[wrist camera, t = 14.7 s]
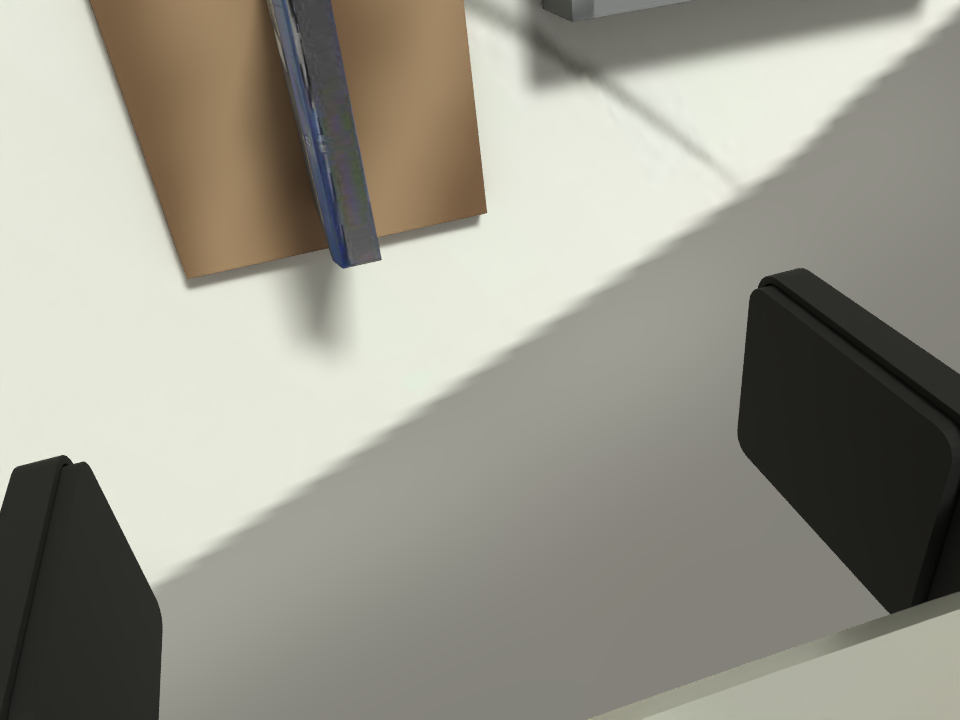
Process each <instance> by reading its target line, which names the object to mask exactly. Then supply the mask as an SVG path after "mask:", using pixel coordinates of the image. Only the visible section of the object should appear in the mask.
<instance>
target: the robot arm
mask: <svg viewBox="0 0 960 720" xmlns="http://www.w3.org/2000/svg"><path fill="white" fill-rule="evenodd" d="M737 431H738V440H739V443H740V446H741V448H742V450H743V452H744V453H745V455H746V456H747V457H748V458H749V459H750V460H751V462H752V463H753V464H754V465H755V466H756V467H757V468H758V469H759V470H760V472H761V473H762V474H763V475H764V476H765V477H766V478H767V479H768V480H769V481H770V482H771V484H772V485H773V486H774V487H775V488H776V489H777V490H778V491H779V492H780V493H781V495H782V496H783V497H784V498H785V499H786V500H787V501H788V502H789V504H790V505H791V506H792V507H793V508H794V509H795V510H796V511H797V512H798V513H799V515H800V516H801V517H802V518H803V519H804V520H805V521H806V522H807V523H808V524H809V526H810V527H811V528H812V529H813V530H814V531H815V532H816V533H817V534H818V535H819V537H820V538H821V539H822V540H823V541H824V542H825V543H826V544H827V545H828V546H829V547H830V549H831V550H832V551H833V552H834V553H835V554H836V555H837V556H838V557H839V558H840V560H841V561H842V562H843V563H844V564H845V565H846V566H847V567H848V568H849V570H851V572H852V573H853V574H854V575H855V576H856V577H857V578H858V580H859V581H860V582H862V584H863V585H864V586H865V587H866V588H867V589H868V591H870V593H871V594H872V595H873V596H874V597H875V598H876V599H877V600H878V602H879V603H880V604H881V605H882V606H883V607H884V608H885V609H886V610H887V611H888V612H889V613H890V615H888V616H885V617H882V618H879V619H876V620H873V621H870V622H867V623H864V624H861V625H858V626H855V627H852V628H850V629H847V630H844V631H841V632H838V633H835V634H832V635H829V636H826V637H823V638H820V639H817V640H815V641H812V642H809V643H806V644H803V645H800V646H797V647H794V648H791V649H788V650H785V651H782V652H780V653H777V654H774V655H771V656H768V657H765V658H762V659H759V660H756V661H753V662H750V663H748V664H745V665H742V666H739V667H736V668H733V669H730V670H727V671H725V672H722V673H719V674H716V675H713V676H710V677H707V678H704V679H702V680H699V681H696V682H693V683H690V684H687V685H684V686H681V687H679V688H676V689H673V690H670V691H667V692H664V693H661V694H659V695H656V696H653V697H650V698H647V699H644V700H641V701H638V702H636V703H633V704H630V705H627V706H624V707H621V708H619V709H616V710H613V711H610V712H607V713H604V714H601V715H598V716H596V717H593V718H590V719H587V720H960V374H959V373H957V372H955V371H954V370H952V369H951V368H950V367H948V366H947V365H945V364H944V363H943V362H941V361H940V360H938V359H937V358H935V357H934V356H932V355H931V354H929V353H928V352H927V351H925V350H924V349H922V348H920V347H919V346H918V345H916V344H915V343H913V342H912V341H911V340H909V339H908V338H906V337H905V336H903V335H902V334H900V333H899V332H897V331H896V330H894V329H893V328H892V327H890V326H889V325H887V324H886V323H884V322H883V321H881V320H880V319H878V318H877V317H876V316H874V315H873V314H871V313H870V312H868V311H867V310H865V309H864V308H862V307H861V306H860V305H858V304H857V303H855V302H854V301H852V300H851V299H849V298H848V297H846V296H845V295H843V294H842V293H841V292H839V291H837V290H836V289H835V288H833V287H832V286H830V285H829V284H827V283H826V282H824V281H823V280H821V279H820V278H819V277H817V276H816V275H814V274H813V273H811V272H810V271H808V270H806V269H804V268H798V269H794V270H790V271H786V272H782V273H778V274H774V275H770V276H766V277H764V278H763V279H762V280H761V282H760V283H759V286H758V289H755V290H754V291H753V292H752V294H751V295H750V300H749V310H748V321H747V332H746V343H745V354H744V365H743V375H742V386H741V398H740V408H739V419H738V430H737ZM161 651H162V617H161V613H160V608H159V605H158V602H157V600H156V598H155V596H154V594H153V592H152V590H151V588H150V586H149V584H148V582H147V580H146V578H145V576H144V574H143V572H142V570H141V568H140V566H139V564H138V562H137V560H136V558H135V556H134V554H133V552H132V550H131V548H130V546H129V544H128V542H127V540H126V538H125V536H124V534H123V532H122V530H121V528H120V526H119V524H118V522H117V520H116V518H115V516H114V514H113V512H112V510H111V508H110V506H109V504H108V502H107V500H106V498H105V496H104V494H103V492H102V490H101V488H100V486H99V484H98V482H97V480H96V477H95V475H94V473H93V471H92V470H91V468H90V466H89V465H88V464H87V463H86V462H80V463H76V464H73V463H72V461H71V460H70V459H69V458H68V457H67V456H65V455H61V456H57V457H53V458H49V459H45V460H41V461H37V462H33V463H30V464H26V465H22V466H18V467H16V468H15V469H14V470H13V472H12V474H11V477H10V481H9V484H8V487H7V491H6V494H5V497H4V501H3V504H2V508H1V511H0V720H158V719H159V697H160V673H161Z"/></svg>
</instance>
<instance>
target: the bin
mask: <svg viewBox="0 0 960 720" xmlns="http://www.w3.org/2000/svg"><path fill="white" fill-rule="evenodd" d="M686 1H692V0H542V3H543V9H545V10H547V11H550V12H552V13H554V14H556V15H558V16H561V17H563V18H565V19H567V20H569V21H572V22H575V21H581V20H586V19H592V18H598V17H603V16H609V15H614V14H620V13H625V12H631V11H636V10H642V9H648V8H653V7H659V6H664V5H670V4H675V3H681V2H686Z"/></svg>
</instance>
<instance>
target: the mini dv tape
mask: <svg viewBox="0 0 960 720" xmlns="http://www.w3.org/2000/svg"><path fill="white" fill-rule="evenodd" d="M266 1H267V5H268V9H269V13H270V18H271V22H272V26H273V30H274V34H275V39H276V43H277V47H278V51H279V55H280V60H281V64H282V68H283V72H284V77H285V81H286V85H287V89H288V93H289V98H290V102H291V106H292V110H293V114H294V119H295V123H296V127H297V131H298V135H299V140H300V144H301V148H302V152H303V157H304V161H305V165H306V169H307V173H308V178H309V182H310V186H311V190H312V194H313V199H314V203H315V207H316V210H317V213H318V216H319V219H320V222H321V225H322V228H323V231H324V234H325V237H326V240H327V244H328V247H329V250H330V253H331V256H332V259H333V261H334V262H335V263H337V264H338V265H339V266H340V267H341V268H348V267H353V266H357V265H362V264H366V263H371V262H375V261H379V260H382V259H381V254H380V249H379V244H378V238H377V233H376V228H375V223H374V218H373V213H372V208H371V203H370V198H369V193H368V188H367V182H366V177H365V172H364V167H363V162H362V157H361V152H360V147H359V142H358V137H357V132H356V126H355V121H354V116H353V111H352V106H351V101H350V96H349V91H348V86H347V81H346V76H345V70H344V65H343V60H342V55H341V50H340V45H339V40H338V35H337V30H336V25H335V20H334V14H333V9H332V4H331V0H266Z"/></svg>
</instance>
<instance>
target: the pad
mask: <svg viewBox="0 0 960 720" xmlns="http://www.w3.org/2000/svg"><path fill="white" fill-rule="evenodd" d="M90 3H91V5H92V8H93V11H94V14H95V17H96V20H97V23H98V25H99V28H100V31H101V34H102V37H103V40H104V43H105V46H106V48H107V51H108V54H109V57H110V60H111V63H112V66H113V68H114V71H115V74H116V77H117V80H118V83H119V86H120V88H121V91H122V94H123V97H124V100H125V103H126V106H127V109H128V111H129V114H130V117H131V120H132V123H133V126H134V129H135V131H136V134H137V137H138V140H139V143H140V146H141V149H142V151H143V154H144V157H145V160H146V163H147V166H148V169H149V172H150V174H151V177H152V180H153V183H154V186H155V189H156V192H157V194H158V197H159V200H160V203H161V206H162V209H163V212H164V214H165V217H166V220H167V223H168V226H169V229H170V232H171V235H172V237H173V240H174V243H175V246H176V249H177V252H178V255H179V257H180V260H181V263H182V266H183V269H184V272H185V275H186V277H187V279H190V278H194V277H199V276H203V275H208V274H213V273H217V272H222V271H226V270H231V269H235V268H240V267H244V266H249V265H253V264H258V263H263V262H267V261H272V260H276V259H281V258H285V257H290V256H294V255H299V254H303V253H308V252H313V251H317V250H322V249H326V248H329V247H328V244H327V240H326V237H325V234H324V231H323V228H322V225H321V222H320V219H319V216H318V213H317V210H316V207H315V203H314V199H313V194H312V190H311V186H310V182H309V178H308V173H307V169H306V165H305V161H304V157H303V152H302V148H301V144H300V140H299V135H298V131H297V127H296V123H295V119H294V114H293V110H292V106H291V102H290V98H289V93H288V89H287V85H286V81H285V77H284V72H283V68H282V64H281V60H280V55H279V51H278V47H277V43H276V39H275V34H274V30H273V26H272V22H271V18H270V13H269V9H268V5H267V1H266V0H90ZM331 4H332V9H333V14H334V20H335V25H336V30H337V35H338V40H339V45H340V50H341V55H342V60H343V65H344V70H345V76H346V81H347V86H348V91H349V96H350V101H351V106H352V111H353V116H354V121H355V126H356V132H357V137H358V142H359V147H360V152H361V157H362V162H363V167H364V172H365V177H366V182H367V188H368V193H369V198H370V203H371V208H372V213H373V218H374V223H375V228H376V233H377V237H381V236H385V235H390V234H394V233H399V232H403V231H408V230H413V229H417V228H422V227H426V226H431V225H435V224H440V223H444V222H449V221H453V220H458V219H463V218H467V217H472V216H476V215H481V214H485V213H487V208H486V199H485V190H484V181H483V172H482V163H481V154H480V145H479V136H478V127H477V118H476V109H475V100H474V91H473V82H472V73H471V64H470V55H469V46H468V37H467V28H466V19H465V10H464V1H463V0H331Z"/></svg>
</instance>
